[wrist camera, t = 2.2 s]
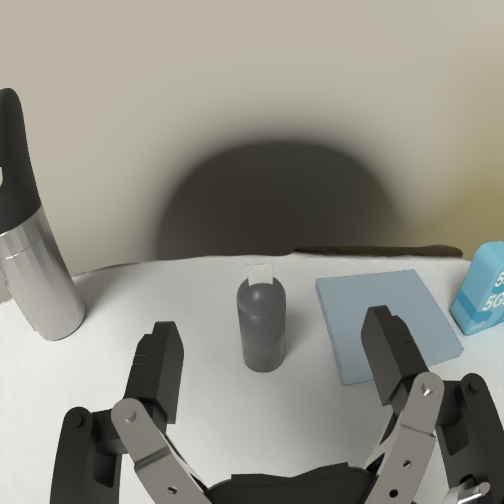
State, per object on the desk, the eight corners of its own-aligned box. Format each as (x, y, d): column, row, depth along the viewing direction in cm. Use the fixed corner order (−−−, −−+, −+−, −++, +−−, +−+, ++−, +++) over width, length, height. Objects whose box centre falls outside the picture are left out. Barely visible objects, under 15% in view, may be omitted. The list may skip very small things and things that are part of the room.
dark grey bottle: (244, 373, 29) (232, 286, 22) (243, 342, 33) (233, 253, 26) (285, 370, 29) (290, 282, 22) (281, 339, 33) (283, 250, 26)
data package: (461, 338, 29) (500, 265, 22) (446, 315, 32) (478, 242, 26) (509, 319, 29) (542, 255, 22) (495, 300, 33) (524, 237, 26)
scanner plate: (343, 385, 27) (345, 378, 26) (315, 287, 40) (316, 278, 39) (458, 356, 27) (463, 349, 26) (411, 277, 40) (414, 269, 39)
